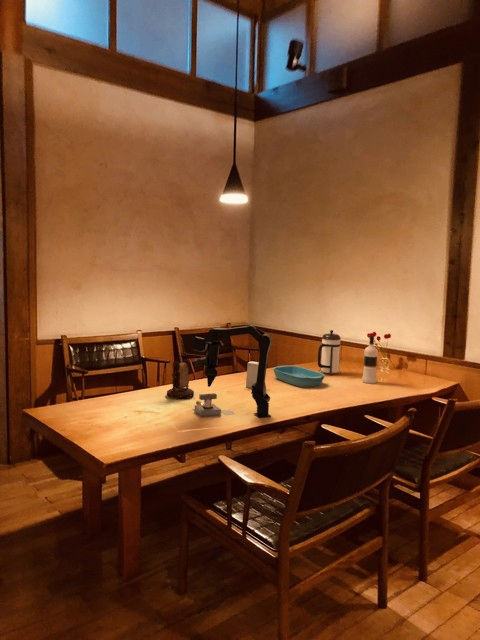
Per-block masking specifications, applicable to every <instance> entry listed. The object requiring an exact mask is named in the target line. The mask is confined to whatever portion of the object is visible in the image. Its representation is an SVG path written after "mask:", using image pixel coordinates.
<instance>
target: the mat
mask: <svg viewBox="0 0 480 640" xmlns="http://www.w3.org/2000/svg"><path fill="white" fill-rule="evenodd" d="M221 414H223V415H224V416H234V415H236V413H235V412H234V411H233V410H231V409H224V410H222V409H221Z"/></svg>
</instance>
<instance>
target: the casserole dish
mask: <svg viewBox="0 0 480 640" xmlns="http://www.w3.org/2000/svg"><path fill="white" fill-rule="evenodd" d="M272 369H273V373H274V375H275V377H276V378H277V379H278V380H279V381H282V382H284V383H287V384H290V385H292V386H295V387H296V386H297V387H301V388H308V387H315V386H320V385H321V384H322V383H323V380H324V378H325V376H326V374H324V373H323V372H321V373H320V371H315V370H312V369H309V368H306V367H303V366H298V365H278V366H275V367H273V368H272Z"/></svg>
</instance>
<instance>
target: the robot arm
mask: <svg viewBox="0 0 480 640" xmlns="http://www.w3.org/2000/svg"><path fill="white" fill-rule="evenodd" d="M241 335H242V336H243V335H250V336H251V337H252V338H253V339H254V340H255V341H257V343H258V352H259V354H258V355H259V356H258V357H259V358H258V362H259V364H258V372H257V381H256V383H254V384H253V385H252V388H251V393H250V394H251V397H252V399H253V400H254V401H255V404H256V412H254V413H253V415H254V416H255V417H258V418H259V419H260V418H270V417H272V415H271V414H269V413H270V412H269V411H270V410H269V409H270V408H269V407H270V405H269V404H270V403H269V402H270V400H271V397H270V395H269V394H268V393H267V387H266V386H267V385H266V374H267V366H268V359H269V352H270V349H271V347H272V343H273V340H274V338H273V337H272V335H271V334H269V333H266V332H264V331H263V330H261V329H259V328H258V327H256V326H255V325H254V324H251V325H245V326H238V327H237V326H236V327H230V328H225V327H224V328H223V327H214V328H212V329H211V328H210V329H209V331H208V332H207V335H206V336H205V337H204V338H203V337H200V336H199V337H198V336H194V338H193V341H192V344H191V350H192V351H195V352H196V351H197V352H200V353H204V352H205V351H206V355H205V356H203V357H199V358H194V360H193V363H194V366H195V368H199V367H202V366H204V372H203V373H204V375H205V376H206V381H207V387H208V388H210V387H211V386H212V384H213V383H214V381H215V379H216V377H217V375H218V368H217V367H218V361H219V352H220V347H222V346H224V345H225V344H224V342H222V340H221V339H223V338H224V339H225V338H227V337H234V336H235V337H236V336H241ZM217 340H219V341H217Z"/></svg>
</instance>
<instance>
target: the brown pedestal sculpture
mask: <svg viewBox="0 0 480 640" xmlns="http://www.w3.org/2000/svg"><path fill="white" fill-rule="evenodd" d="M189 362H190V361H188V359H183V360H182V362H179V361H177V360H174V361H173V363H172V374H171V376H172V382H171V385H172V388H169V389H168V390H167V391H166V396H168V397H174V398H178V400H181V398H188V397H194V396H195V391H194V390H192V389H191V388H189V387H190V386H189V383H190V380H189V379H190V378H189V374H190V363H189ZM178 376H179V378H177V377H178Z"/></svg>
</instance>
